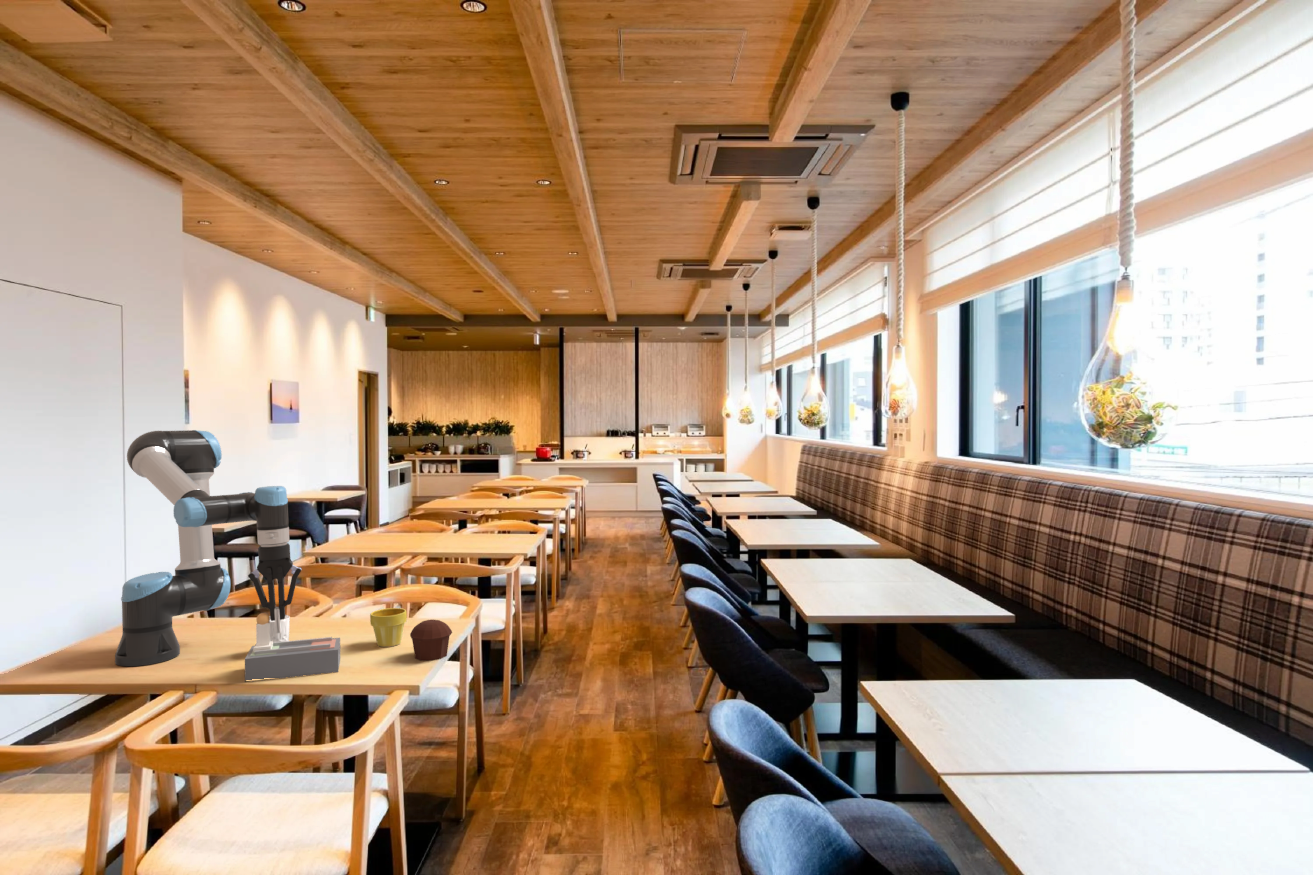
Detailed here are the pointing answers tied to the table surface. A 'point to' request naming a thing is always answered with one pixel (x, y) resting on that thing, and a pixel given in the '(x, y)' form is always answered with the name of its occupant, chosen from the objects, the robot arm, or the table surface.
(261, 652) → the switch block
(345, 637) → the table surface
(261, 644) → the lever
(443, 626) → the muffin
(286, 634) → the white cup
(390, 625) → the plant pot
